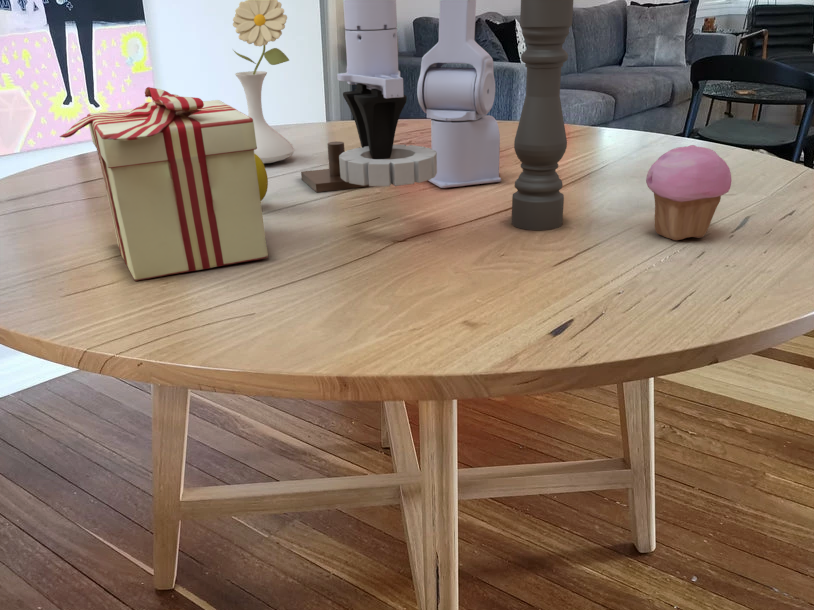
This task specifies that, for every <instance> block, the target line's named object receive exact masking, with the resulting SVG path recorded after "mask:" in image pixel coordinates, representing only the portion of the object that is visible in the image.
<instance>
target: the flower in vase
mask: <svg viewBox="0 0 814 610" xmlns="http://www.w3.org/2000/svg"><path fill="white" fill-rule="evenodd" d="M238 5H239V6H238V7H237V8H235V10H234V11H235V12H234V13H235V14H234V16H233V18H232V21H233V22H232V26H233V27H234V28H235V33H236V34H239V35H238V39H239V41H243V42H246V43H247V44H248V45H254V46H255V47H262V53H261V56H260V57H259V59H258V60H257V63H256V62H255V61H254V60H252V58H250V57H248V56H247V55H243V54H241V53H238V52H236V50H235V49H232V51H233V52H234V54H236V55H237V56H238V57H239V58H242V59H243V60H246V61H248V62H251V63H252V64H255V66H254V69H253V70H251V71H250V70H249V71H239V72H235V73H234V75H235V77H237V79H238V80H239V82H240V84H241V86H242V88H243V91H244V94H245V95H244V96H245V98H246V104H247V113H248V115H247V116H249V117H251V118H252V119H253V122H254V129H255V137H256V145H257V149H256V150H254V154H256V155H257V156H258V157H259V158H260V159H261V160H262V162H263V164H264V165H265V164H272V163H276V162H279V161H283V160H286V159H287V158H289V157H291V156H292V155H293V154H294V152H295V148H294V146H293V144H292V143H291V142H290V141H289V140H288V139H287V138H286V137H285V136H283V135H282V134H281V133H280V132H278V131H277V130H275V129H274V128H273V127H272V126H270V124H268V123H267V121H266V120H265V117H264V113H263V107H262V106H263V105H262V91H263V90H262V89H263V84H264V80H265V79H266V76H267V74H268V72H267V71H263V70H258V68H259V66H260V64H261V61H262V60H263V58H264V59H265V60H266V62H267V63H268V65H272V66H275V65H280V64H283V63H287V62H289V61H290V59H289V58H288V56H287V55H286V54H285V52H284V51H283V50H281V49H280V48H277V47H273V48H270V49H269V50H267V51H266V46H267V45H268V44H269V43H270V42H276V41H277V40H278V39H280V37H281V36H282V35H283V31H282V30H284V29H285V28H286V25H285V24H286V23H287V20H288V15H287V14H284V13H285V9H284V8H283V7H282V5H283V4H282V2H280V1H278V0H244V1H243V0H242V1H240V2H239V3H238Z"/></svg>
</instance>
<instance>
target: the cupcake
mask: <svg viewBox="0 0 814 610" xmlns="http://www.w3.org/2000/svg"><path fill="white" fill-rule="evenodd" d="M645 184H646V186H647V188H648V189H649V190H650V191H651V192H652V193H653V199H654V218H653V221H654V231H655V232H656V233H657V235H659V236H661V237H664V238H667V239H670V240H673V241H680V240H684V239H687V238H696V239H701V238H703V237H704V236H705V235H706V234H707V232H708V230H709V228H710V226H711V223H712V221H713V218H714V215H715V213H716V211H717V208H718V206H719V204H720V202H721V199H722V196H723V195H726V194H727V193H729V192H730V189H731V187H732V171H731V168H730V167H729V165H728V164H727V162H726V161H725V160H724V159H723V158H722V157H721V156H720V155H719V154H718V153H717V151H715V150H713V149H711V148H708V147H703V146H697V145H694V144H690V145H688V146H679V147H674V148H672V149H669V150H668V151H666V152H664V153H663V154H661V155H660V156H659V157H658V158H657V159H656V160H655V161H654V162H653V163H652V164H651V166H650V167H649V169H648V171H647V173H646V178H645Z"/></svg>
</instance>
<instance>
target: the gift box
mask: <svg viewBox="0 0 814 610" xmlns="http://www.w3.org/2000/svg"><path fill="white" fill-rule="evenodd" d="M144 94H145V95H144V96H145V98H151V101H152V102H151V101H149V102H143V103H141V105H139V106H137V107H135V108H128V109H119V110H111V111H101V112H100V111H99V112H91V113H88V114H87V115H86V116H85V117H82V118H81V119H79V121H77V122H75V123H74V124H73V125H72V126H71V127H70V128H69V129H68V130H66V132H65V133H63V134H61V135H59V138H65V139H66V138H70V137H72V136H74V135H75V134H76V133H77V132H79V130H81V129H84V128H85V127H87V126H88V127H89V132H90V137H91V140H92V143H93V145H94V147H95V148H96V152H97V156H98V160H99V165H100V168H101V169H100V170H101V173H102V178H103V183H104V187H105V191H106V195H107V200H108V205H109V209H110V214H111V219H112V224H113V228H114V233H115V237H116V242H117V247H118V249H119V253H120V256H121V258H122V259H123V260H124V264H125V265H126V267H127V268H128V270H129V272H130V273H129V274H130V275H131V277H132V279H133V280H134V281H137V282H138V281H143V280H149V279H154V278H161V277H166V276H172V275H176V274H182V273H188V272H196V271H201V270H206V269H213V268H217V267H223V266H229V265H234V264H239V263H240V264H241V263H246V262H247V263H248V262H252V261H253V262H254V261H258V260H259V261H260V260H263V259H267V258H269V252H268V247H267V241H266V239H267V238H266V232H265V223H264V218H263V210H262V201H260V193H259V186H258V178H257V170H256V162H255V156H254V150H256V149H257V145H256V137H255V129H254V122H253V119H252V118H251V117H249V116H248V115H247V114H246V113H244V112H241V111H239V110H238V109H237V108H235V107H233V106H231V105H229V104H227V103H225V102H224V101H221V100H220V99H215V100H214V99H213V100H205V101H203V100H202V99H201V98H200V97H192V96H180V95H178V94H176V93H175V94H174V93H170V92H168V91H167V90H164V89H161V88H155V87H150V86H148V87H147V86H146V88H145V91H144Z"/></svg>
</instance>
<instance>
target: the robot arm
mask: <svg viewBox="0 0 814 610" xmlns="http://www.w3.org/2000/svg"><path fill="white" fill-rule="evenodd" d="M342 4H343V5H342V6H343V20H344V21H343V22H344V36H345V38H344V39H345V51H346V53H345V54H346V72H340V73H337V74H336V77H337V81H339V82H347V85H352V86H353V85H356V88H354V90H349V91H348V90H347V91H344V92H342V97H343V99H344V100H345V102H346V104H347V105H348V108H349V110H350V112H351V114H352V118H353V120H354V123H355V127H356V130H357V135H358V139H359V142H360V146H361V148H364V147H365V146H369V150H370V154H371V157H372V159H388V158H390V157H391V153H392V148H393V145H394V142H395V135H396V130H397V126H398V123H399V121H400V120H399V119H400V116H401V114H402V112H403V110H404V107H405V105H406V104H407V95H406V94H404V78H403V77H401V70H399V48H398V21H397V20H398V19H397V0H342ZM438 10H439V13H438V42H437V43H436V44H434V46H432V47H431V48H430V49H429V50H428V51H427V52H426V53H424V54H423V56H422V57H421V63H420V72H419V77H418V80H417V85H416V86H417V88H416V92H417V93H416V95H417V96H416V97H417V100H418V105H419V107H420V108H421V110H422V112H424V113H425V114H426V119H429V120H430V137H431V139H430V140H431V141H430V144H431V147H430V149H433V150H435V151H436V152H437V174H436V175H435V177H434V178H432V179H430V180H427V181H428V182H429V183H431V184H433V185H435V186H437V187H439V188H441V189H447V188H457V187H465V186H474V185H480V184H481V185H483V184H484V185H485V184H493V183H500V182H502V177H500V159H501V158H500V154H501V152H500V151H501V146H500V145H501V133H500V128H499V124H498V121H497V120H496V118H495V117H494V116H492V115H489V112H490V111H491V110H492V108H493V106H494V102H495V97H496V80H495V74H494V59H493V57H492V56H491V55H490V54H489V52H487V51H486V50H485V49H484V48H483V47H482V46H480V44H478V43H477V41H476V39H475V37H476V12H477V0H439V9H438ZM446 64H465V65H466V64H468V65H471V66H472V67H447V66H446V67H445V66H444V65H446Z"/></svg>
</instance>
